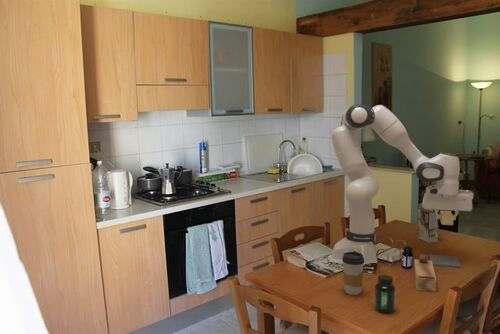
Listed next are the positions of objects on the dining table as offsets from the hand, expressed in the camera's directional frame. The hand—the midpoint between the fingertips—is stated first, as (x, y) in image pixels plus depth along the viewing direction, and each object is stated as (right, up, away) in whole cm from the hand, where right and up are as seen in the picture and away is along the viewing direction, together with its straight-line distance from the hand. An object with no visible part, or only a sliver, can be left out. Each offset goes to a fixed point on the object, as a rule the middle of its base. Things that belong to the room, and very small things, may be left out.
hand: (446, 219), depth 190 cm
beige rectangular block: (0, -1, 0) cm, 1 cm away
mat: (+1, -20, +3) cm, 20 cm away
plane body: (-17, -23, -16) cm, 33 cm away
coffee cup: (-48, -25, -25) cm, 59 cm away
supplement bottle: (-40, -27, -39) cm, 62 cm away
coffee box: (+5, -15, +33) cm, 36 cm away
